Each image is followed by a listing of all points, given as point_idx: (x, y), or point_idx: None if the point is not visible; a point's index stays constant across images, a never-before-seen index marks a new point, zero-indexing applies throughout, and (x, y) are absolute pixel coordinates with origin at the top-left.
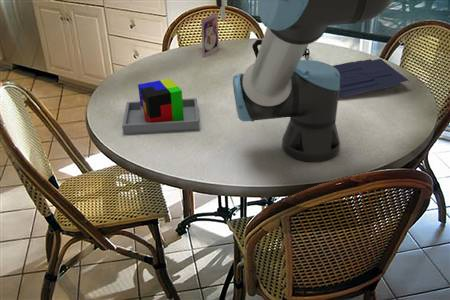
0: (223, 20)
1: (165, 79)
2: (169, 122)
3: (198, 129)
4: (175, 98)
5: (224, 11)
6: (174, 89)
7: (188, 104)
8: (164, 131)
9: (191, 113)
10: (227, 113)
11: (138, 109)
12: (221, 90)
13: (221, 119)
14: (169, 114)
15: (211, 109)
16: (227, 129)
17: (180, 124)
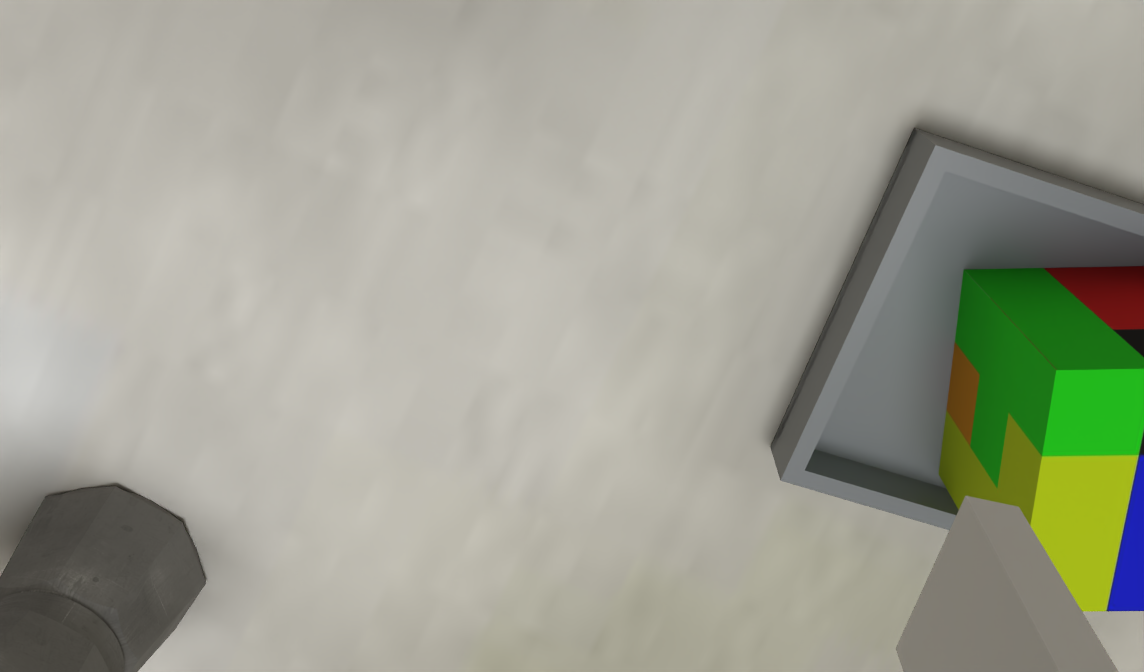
0: (1000, 505)
1: None
2: (1129, 216)
3: (922, 131)
4: (1091, 345)
5: (1041, 610)
6: (1096, 413)
7: (837, 463)
8: (1137, 204)
9: (862, 358)
10: (626, 278)
11: None
12: (520, 592)
13: (702, 214)
14: (1099, 296)
15: (700, 375)
16: (731, 57)
17: (1053, 182)
